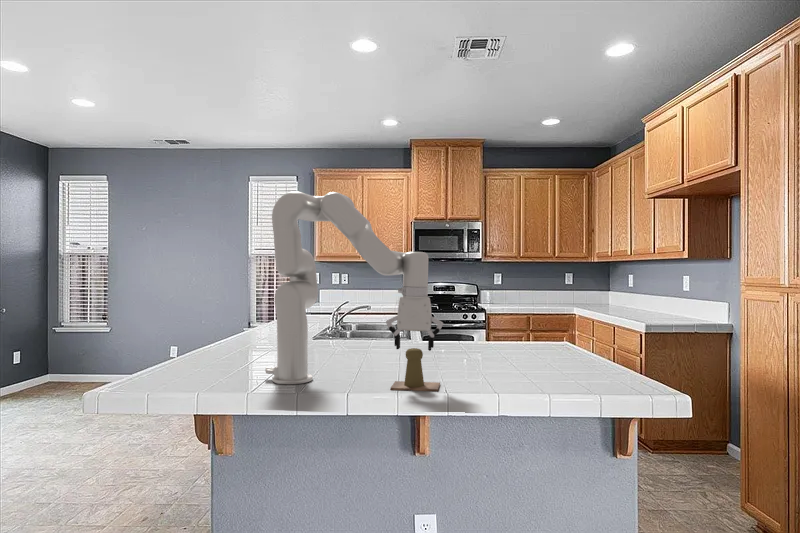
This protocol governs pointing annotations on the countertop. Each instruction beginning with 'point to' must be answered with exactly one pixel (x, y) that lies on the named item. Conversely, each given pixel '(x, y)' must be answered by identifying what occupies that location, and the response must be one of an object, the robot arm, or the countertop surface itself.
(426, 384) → the walnut board
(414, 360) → the cork
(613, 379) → the countertop surface
